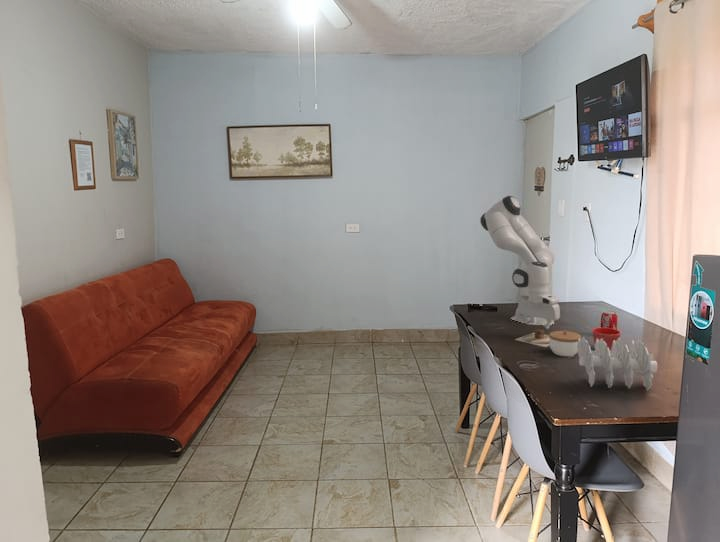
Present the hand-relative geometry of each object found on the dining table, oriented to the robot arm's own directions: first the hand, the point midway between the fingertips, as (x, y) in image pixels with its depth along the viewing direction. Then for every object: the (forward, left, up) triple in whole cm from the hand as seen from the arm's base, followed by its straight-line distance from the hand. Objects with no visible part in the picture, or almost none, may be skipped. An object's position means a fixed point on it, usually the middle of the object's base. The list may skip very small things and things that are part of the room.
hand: (537, 326), depth 237 cm
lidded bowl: (+19, -9, -8) cm, 22 cm away
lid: (+1, +1, -6) cm, 6 cm away
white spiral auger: (+49, -27, -8) cm, 56 cm away
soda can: (+19, +31, -8) cm, 37 cm away
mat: (+1, +1, -7) cm, 7 cm away
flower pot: (+29, +7, -8) cm, 30 cm away
